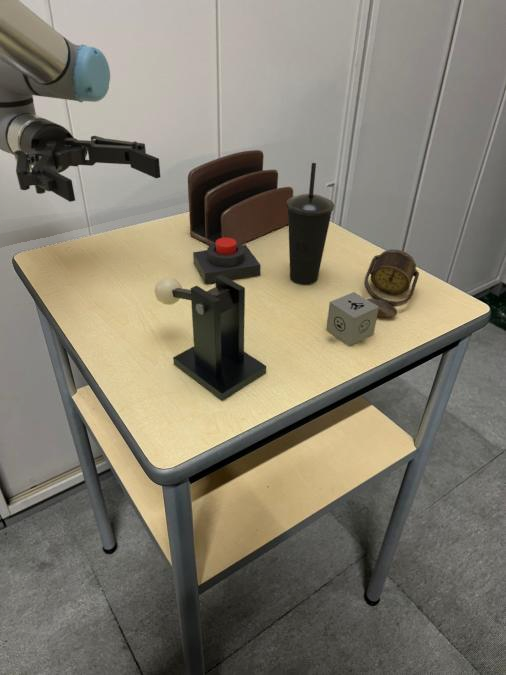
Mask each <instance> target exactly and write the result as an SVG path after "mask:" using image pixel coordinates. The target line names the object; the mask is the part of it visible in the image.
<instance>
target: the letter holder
mask: <svg viewBox="0 0 506 675" xmlns="http://www.w3.org/2000/svg"><path fill="white" fill-rule="evenodd" d="M264 157H265V156H264V152H263V151H262V150H261V149H260V150H259V149H255V150H244V151H239V152H235V153H231V154H227V155H225V156H222V157H219V158H216V159H212V160H210V161H208V162H206V163H203V164H200V165H199V166H197V167H194V168H193V169H191V170H190V171H189V172H188V175H187V196H188V214H189V215H188V217H189V234H190V237H192V238H195V239H197V241H198V240H199V241H201V242H202V243H204V244H207V245H208V246H209V245H211V244H213V243H215V242H216V240H218V239H220V238H232V239H234V240H236V242H237V243H239V244H242V245H244V244H245V243H247V242H249V241H252V240H254V239H257V238H259V237H261V236H264V235H266V234H268V233H270V232H273V231H275V230H277V229H280V228H282V227H285V226H287V225H288V208H287V206H286V202H287V200H288V199H289V198H291V197H294V188H293V187H291V186H283V187H278V184H279V183H278V182H279V172H278V170H277V169H265V170H264Z"/></svg>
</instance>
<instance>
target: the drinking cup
mask: <svg viewBox="0 0 506 675" xmlns="http://www.w3.org/2000/svg"><path fill="white" fill-rule="evenodd" d="M316 168H317V163H316V162H311V167H310V179H309V190H308V193H302V194H298V195H293V197H291V198H289V199H288V200H287V202H286V206H287V208H288V224H287V225H288V253H289V257H288V258H289V279H290V280H291V281H292V282H293V283H294V284H298V285H302V286H309V285H313V284H316V282H317V281H318V278H319V275H320V269H321V265H322V260H323V256H324V250H325V246H326V241H327V236H328V231H329V227H330V221H331V217H332V212H333V211H334V210H335V203H334V202H333V201H332V199H329V198H328V197H325V196H322V195H320V194H316V193H314V192H315V190H314V189H315V181H316V180H315V179H316V172H317V171H316V170H317V169H316Z"/></svg>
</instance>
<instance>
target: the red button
mask: <svg viewBox="0 0 506 675" xmlns="http://www.w3.org/2000/svg"><path fill="white" fill-rule="evenodd" d="M216 253H218V254H222V255H230V254H234V253H236V240H234V239H232V238H220V239H218V240H216Z"/></svg>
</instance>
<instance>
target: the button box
mask: <svg viewBox="0 0 506 675" xmlns="http://www.w3.org/2000/svg"><path fill="white" fill-rule="evenodd" d="M192 258H193V265H194V267H195V269H196V270H197V272H198V274H199V276H200V278H201V280H202V281H203V283H204V285H210V284H216V280H215V277H217V276H219V275H223V276H225V277H227V278H228V279H230V280H232V281H236V280H241V279H247V278H254V277H260V276H261V263H260V262H259V260H258V259H257V258H256V257H255V255H254V254H253V253H252V252H251V250H250V249H249V247H248V246H247V245H246V244H239V243H237V242H236V253H234V254H230V255H222V254H218V253H216V242H215V243H213V244H211V245H208V247H207V249H206V250H200V251H198V250H197V251H194V252H192Z"/></svg>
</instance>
